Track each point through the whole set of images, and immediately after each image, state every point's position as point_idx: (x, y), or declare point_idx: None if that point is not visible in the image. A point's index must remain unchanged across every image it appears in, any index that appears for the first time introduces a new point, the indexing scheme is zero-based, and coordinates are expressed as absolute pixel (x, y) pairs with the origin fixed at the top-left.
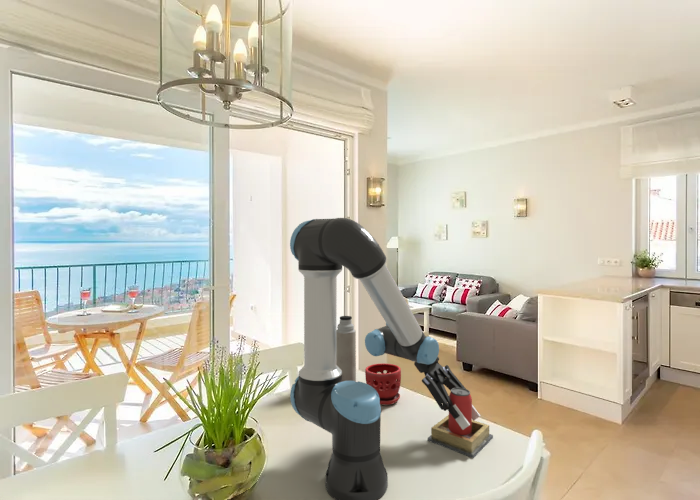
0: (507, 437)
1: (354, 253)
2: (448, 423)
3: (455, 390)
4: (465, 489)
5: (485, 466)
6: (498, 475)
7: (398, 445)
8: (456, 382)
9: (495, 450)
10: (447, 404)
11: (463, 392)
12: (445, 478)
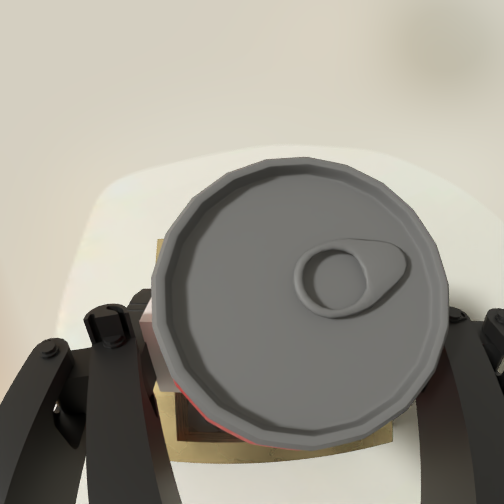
0: (130, 217)
1: None
2: (232, 437)
3: (305, 385)
4: (472, 202)
5: None
6: (372, 162)
7: None
8: (31, 472)
9: None
10: (501, 311)
11: (285, 247)
12: (485, 256)
